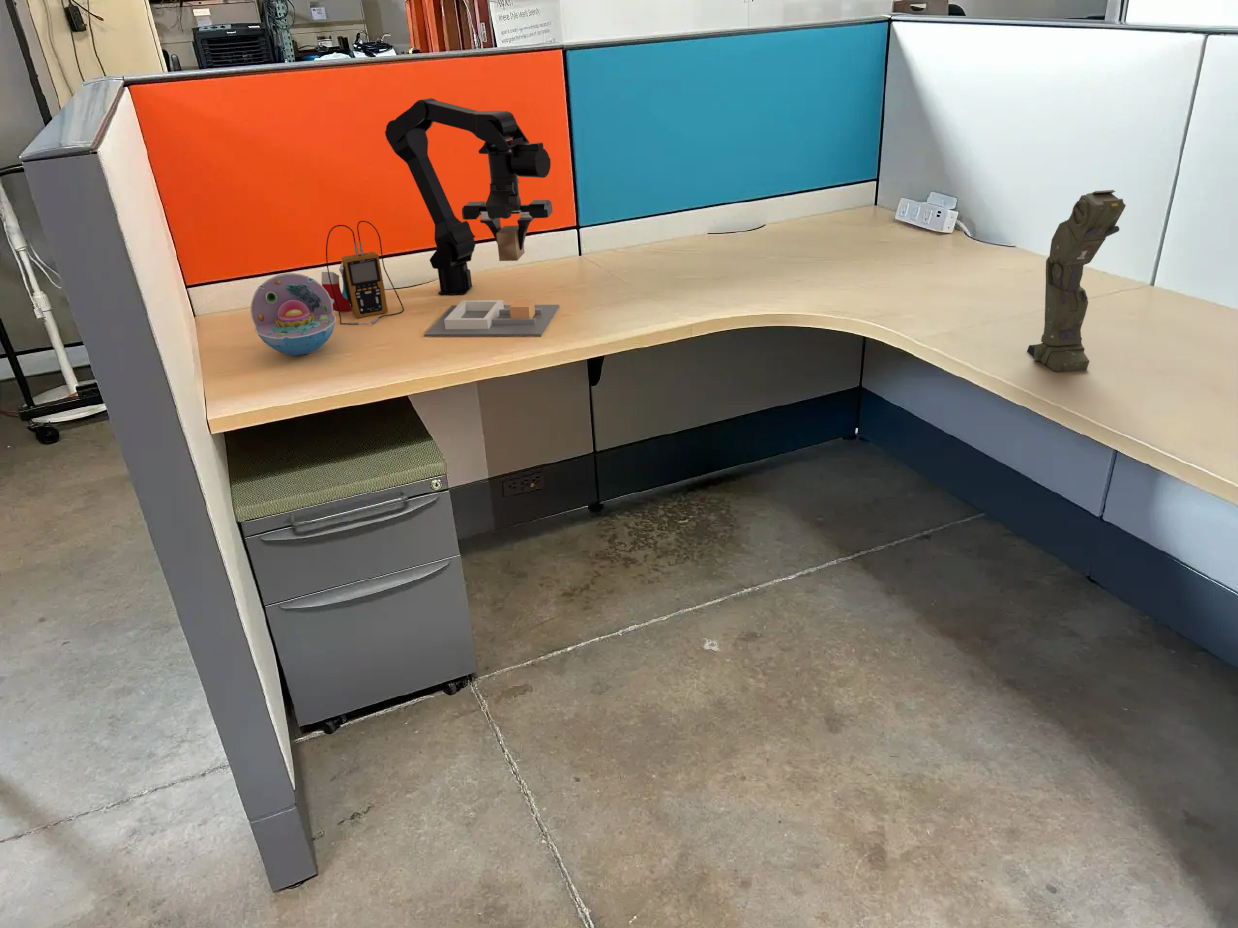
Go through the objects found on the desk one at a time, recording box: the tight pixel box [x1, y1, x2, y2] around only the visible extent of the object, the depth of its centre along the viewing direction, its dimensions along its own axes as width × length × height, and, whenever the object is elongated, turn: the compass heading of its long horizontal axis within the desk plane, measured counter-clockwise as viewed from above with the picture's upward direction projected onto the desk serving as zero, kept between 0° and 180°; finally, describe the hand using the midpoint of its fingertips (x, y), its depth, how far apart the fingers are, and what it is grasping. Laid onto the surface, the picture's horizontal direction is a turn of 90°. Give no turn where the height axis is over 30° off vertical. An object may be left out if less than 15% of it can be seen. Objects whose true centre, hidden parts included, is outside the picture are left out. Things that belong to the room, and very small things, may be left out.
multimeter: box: [325, 220, 405, 326], centre depth 187 cm, size 15×10×20 cm
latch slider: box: [510, 299, 536, 318], centre depth 184 cm, size 4×5×3 cm
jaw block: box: [496, 224, 526, 262], centre depth 194 cm, size 4×7×6 cm, turn 173°
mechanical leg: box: [1026, 189, 1127, 373], centre depth 145 cm, size 14×7×30 cm, turn 5°
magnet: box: [321, 262, 352, 313], centre depth 196 cm, size 12×3×10 cm, turn 169°
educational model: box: [250, 272, 337, 356], centre depth 172 cm, size 16×19×15 cm
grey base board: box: [424, 299, 560, 338], centre depth 186 cm, size 24×19×2 cm
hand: (511, 249), depth 195 cm, fingers closed on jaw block, 4 cm apart
